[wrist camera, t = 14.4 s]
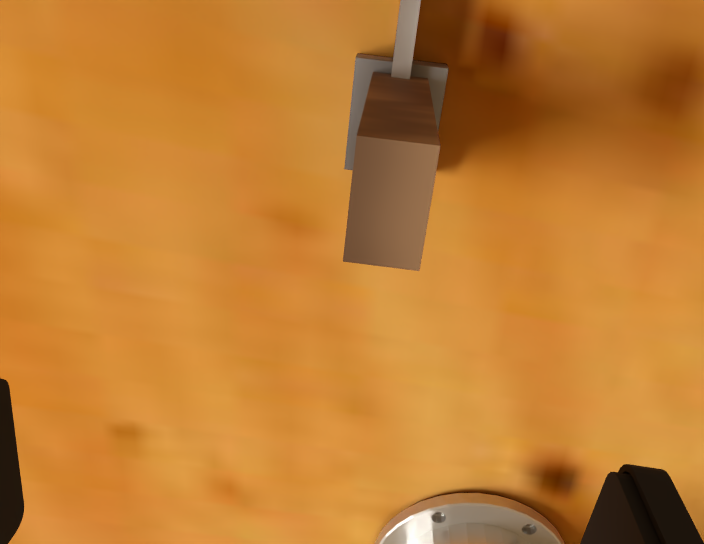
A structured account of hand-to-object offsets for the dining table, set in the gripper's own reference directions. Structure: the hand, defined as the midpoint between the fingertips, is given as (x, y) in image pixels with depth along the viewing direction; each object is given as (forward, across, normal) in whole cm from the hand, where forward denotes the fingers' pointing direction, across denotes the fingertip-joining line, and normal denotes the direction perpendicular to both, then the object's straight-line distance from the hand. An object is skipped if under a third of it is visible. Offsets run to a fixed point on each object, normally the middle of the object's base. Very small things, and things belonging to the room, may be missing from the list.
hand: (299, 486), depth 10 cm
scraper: (+23, -1, -9) cm, 24 cm away
